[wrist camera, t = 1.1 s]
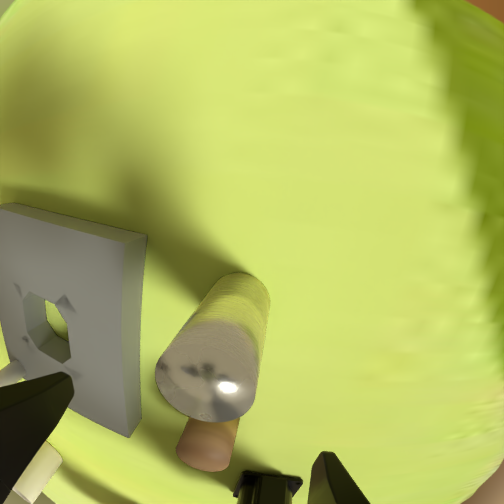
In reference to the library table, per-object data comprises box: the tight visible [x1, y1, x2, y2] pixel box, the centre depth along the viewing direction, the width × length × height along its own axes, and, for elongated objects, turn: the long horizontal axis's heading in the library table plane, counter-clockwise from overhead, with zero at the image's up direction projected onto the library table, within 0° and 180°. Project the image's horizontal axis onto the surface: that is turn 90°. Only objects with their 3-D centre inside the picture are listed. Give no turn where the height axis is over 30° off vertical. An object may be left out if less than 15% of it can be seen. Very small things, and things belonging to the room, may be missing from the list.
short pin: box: [176, 417, 240, 472], centre depth 19 cm, size 4×4×5 cm
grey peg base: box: [0, 203, 147, 438], centre depth 17 cm, size 18×16×9 cm
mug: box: [13, 441, 63, 504], centre depth 23 cm, size 10×7×12 cm, turn 5°
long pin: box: [155, 273, 270, 422], centre depth 14 cm, size 4×4×9 cm
